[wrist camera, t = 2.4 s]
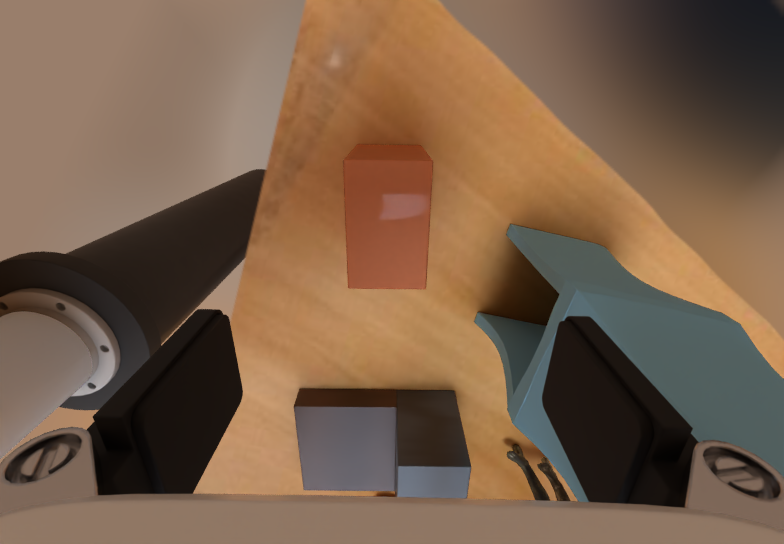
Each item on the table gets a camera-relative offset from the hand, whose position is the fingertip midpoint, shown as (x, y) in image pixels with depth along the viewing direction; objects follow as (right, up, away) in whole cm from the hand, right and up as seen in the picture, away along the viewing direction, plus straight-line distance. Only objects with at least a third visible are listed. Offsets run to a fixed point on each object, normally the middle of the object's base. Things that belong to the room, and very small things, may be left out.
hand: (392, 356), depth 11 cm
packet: (0, +9, +20) cm, 22 cm away
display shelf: (-2, -15, +30) cm, 34 cm away
